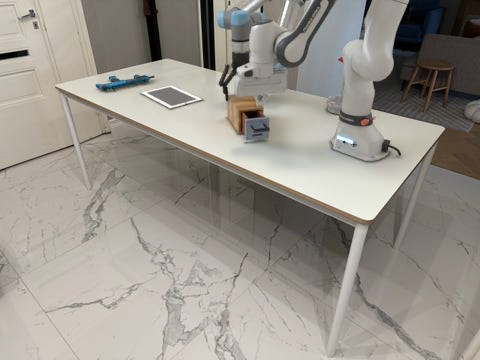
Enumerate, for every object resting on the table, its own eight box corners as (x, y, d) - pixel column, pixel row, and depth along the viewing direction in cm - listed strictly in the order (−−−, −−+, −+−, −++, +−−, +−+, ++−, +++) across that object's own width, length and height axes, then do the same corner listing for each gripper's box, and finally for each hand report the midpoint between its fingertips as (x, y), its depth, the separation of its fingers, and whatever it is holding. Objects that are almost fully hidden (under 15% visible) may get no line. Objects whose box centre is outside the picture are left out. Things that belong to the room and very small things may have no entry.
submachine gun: (140, 69, 224) (158, 75, 207) (141, 74, 225) (159, 81, 209) (88, 79, 205) (103, 86, 188) (89, 85, 207) (105, 93, 190)
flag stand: (341, 103, 177) (352, 43, 161) (357, 112, 167) (370, 48, 150) (320, 107, 173) (328, 45, 157) (335, 116, 163) (345, 51, 146)
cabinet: (262, 131, 150) (263, 107, 144) (238, 134, 147) (238, 110, 141) (249, 114, 166) (249, 92, 160) (227, 117, 163) (227, 94, 157)
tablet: (140, 93, 192) (140, 92, 192) (171, 85, 203) (171, 85, 203) (170, 109, 171) (170, 108, 171) (202, 99, 183) (202, 99, 182)
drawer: (273, 143, 137) (274, 123, 132) (249, 146, 135) (250, 125, 130) (254, 120, 157) (255, 102, 152) (234, 123, 154) (234, 104, 149)
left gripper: (265, 47, 150) (263, 93, 162) (210, 51, 145) (212, 99, 157) (271, 50, 144) (269, 98, 156) (213, 55, 139) (216, 105, 151)
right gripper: (284, 64, 128) (282, 100, 135) (232, 68, 123) (232, 105, 130) (291, 69, 123) (288, 105, 130) (237, 73, 118) (237, 111, 125)
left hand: (241, 99), depth 156 cm, fingers open, 13 cm apart
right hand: (260, 105), depth 130 cm, fingers closed
